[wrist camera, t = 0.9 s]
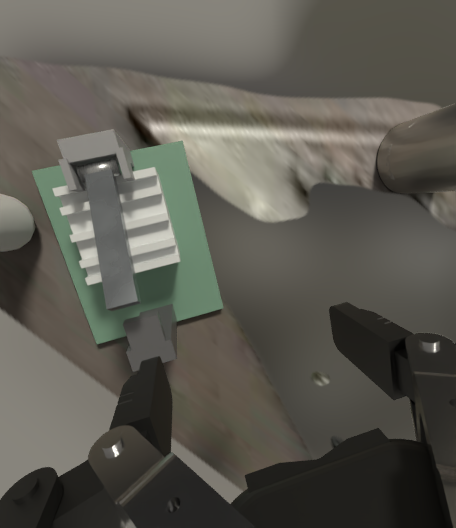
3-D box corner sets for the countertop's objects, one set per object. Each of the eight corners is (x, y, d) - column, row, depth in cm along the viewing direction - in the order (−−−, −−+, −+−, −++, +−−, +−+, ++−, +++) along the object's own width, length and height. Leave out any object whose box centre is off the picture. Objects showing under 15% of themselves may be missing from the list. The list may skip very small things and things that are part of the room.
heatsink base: (181, 141, 32) (183, 114, 23) (221, 305, 37) (237, 337, 28) (36, 170, 30) (-25, 154, 21) (99, 339, 35) (71, 386, 26)
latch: (166, 284, 34) (162, 313, 24) (176, 318, 35) (176, 358, 25) (133, 292, 33) (116, 326, 24) (144, 327, 34) (132, 371, 25)
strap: (119, 165, 25) (114, 154, 23) (148, 301, 21) (144, 298, 20) (83, 172, 24) (75, 162, 23) (105, 313, 21) (98, 310, 19)
